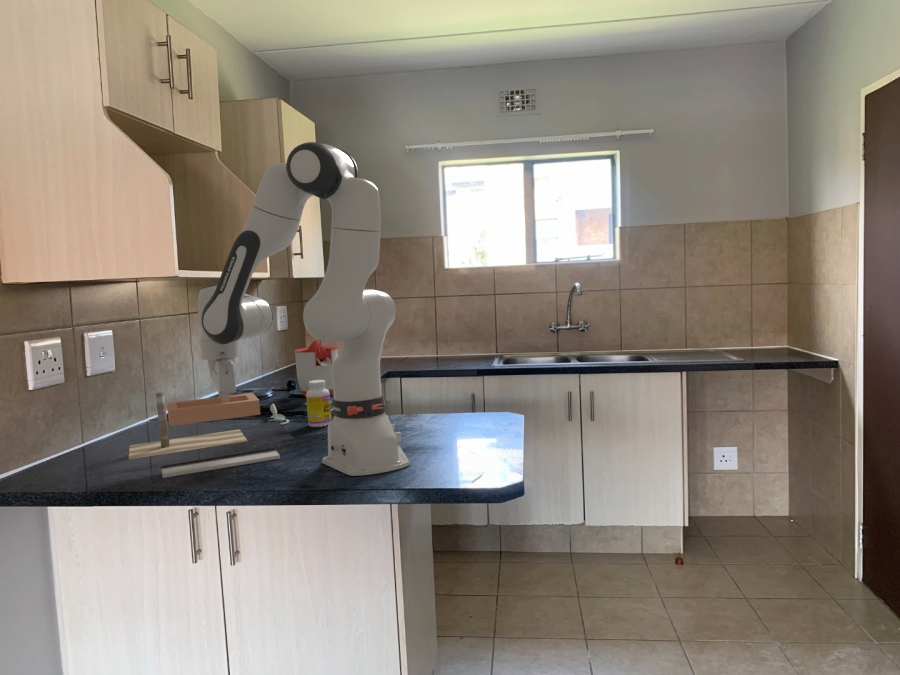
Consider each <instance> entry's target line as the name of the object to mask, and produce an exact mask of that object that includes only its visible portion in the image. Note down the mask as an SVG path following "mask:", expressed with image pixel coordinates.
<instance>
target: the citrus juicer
mask: <svg viewBox="0 0 900 675" xmlns="http://www.w3.org/2000/svg"><path fill="white" fill-rule="evenodd" d="M338 349H339V347H338V346H335V345H323V344H322V343H320V342H319V341H318V340H317V339H315V340H313V342H311V344H310V345H309V346H308V347H303V348H298V349H295V350H294V351H293V352H294V355H295V358H294V359H295V369H296V377H297V382H298V387H299V389H300V391H301V393H302V395H303V397H305V398H306V393H307V391H309V390H310V387H309V381H313V380H325V389H327V390H329V393H330V396H333V383H332V365H333V363H334V361H335V360H336V359H337V357H338V356H339V354H338Z"/></svg>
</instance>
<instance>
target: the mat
mask: <svg viewBox="0 0 900 675" xmlns="http://www.w3.org/2000/svg"><path fill="white" fill-rule="evenodd" d="M279 459H281V455H280V454H279V452H278V451H277V450H276V449H275V447H274V448H268V449H262V450H256V451H249V452H242V453H236V454H230V455H223V456H216V457H211V458H205V459H199V460H193V461H186V462H180V463H174V464H167V465H161V468H160V469H161V475H162V479H164V478H165V479H166V478H172V477H176V476H178V477H179V476H182V475H188V474H196V473H201V472H207V471H212V470H218V469H225V468H231V467H236V466H243V465H249V464H255V463H260V462H267V461H273V460H279Z"/></svg>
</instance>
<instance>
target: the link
mask: <svg viewBox="0 0 900 675" xmlns="http://www.w3.org/2000/svg"><path fill="white" fill-rule="evenodd" d="M166 412H167V420H168V423H169V426H170V427H173V426H175V427H176V426H182V425H189V424H190V425H191V424H198V423H205V422H213V421H221V420H229V419H235V418H245V417H251V416H258V415H259V416H260V415H261V405H260V399H259V398H258V397H257V396H256V395H255V394H254V392H248V393H247V392H246V393H241V394H230V402H226V403H221V397H219V396H215V397H214V396H213V397H205V398H197V399H189V400H188V399H187V400H180V401H170V402H166Z"/></svg>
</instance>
